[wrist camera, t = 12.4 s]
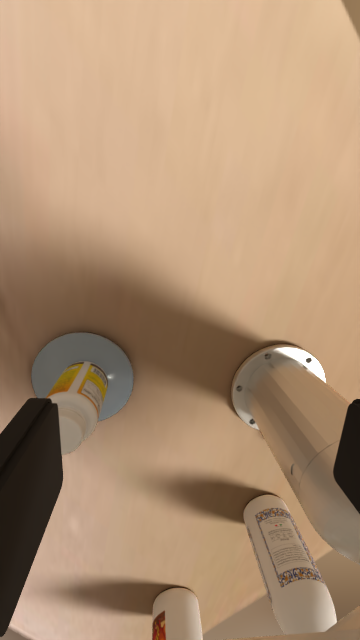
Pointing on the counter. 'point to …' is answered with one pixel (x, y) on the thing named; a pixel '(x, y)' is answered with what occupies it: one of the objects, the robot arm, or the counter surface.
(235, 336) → the counter surface
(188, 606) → the milk bottle
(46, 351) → the dish
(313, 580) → the bath foam
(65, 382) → the supplement bottle
